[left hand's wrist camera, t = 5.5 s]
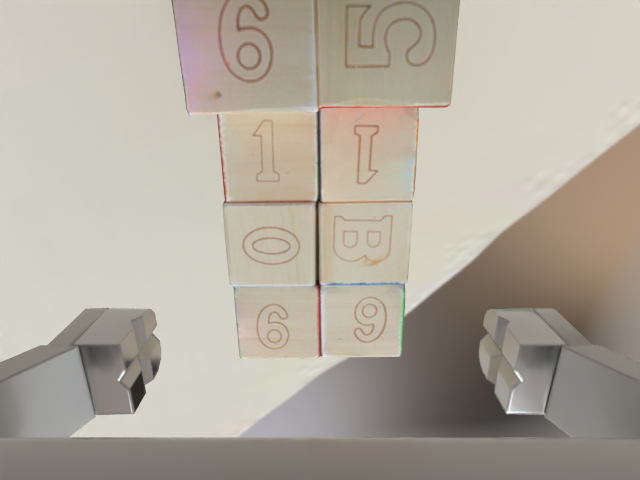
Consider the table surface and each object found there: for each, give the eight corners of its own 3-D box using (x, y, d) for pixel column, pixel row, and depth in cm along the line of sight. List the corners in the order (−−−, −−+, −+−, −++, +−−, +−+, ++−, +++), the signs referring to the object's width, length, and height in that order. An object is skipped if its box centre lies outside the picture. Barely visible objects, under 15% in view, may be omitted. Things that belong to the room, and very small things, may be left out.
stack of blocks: (371, 260, 24) (420, 425, 13) (263, 260, 24) (214, 426, 12) (393, -234, 16) (577, -982, 5) (235, -234, 16) (41, -990, 5)
